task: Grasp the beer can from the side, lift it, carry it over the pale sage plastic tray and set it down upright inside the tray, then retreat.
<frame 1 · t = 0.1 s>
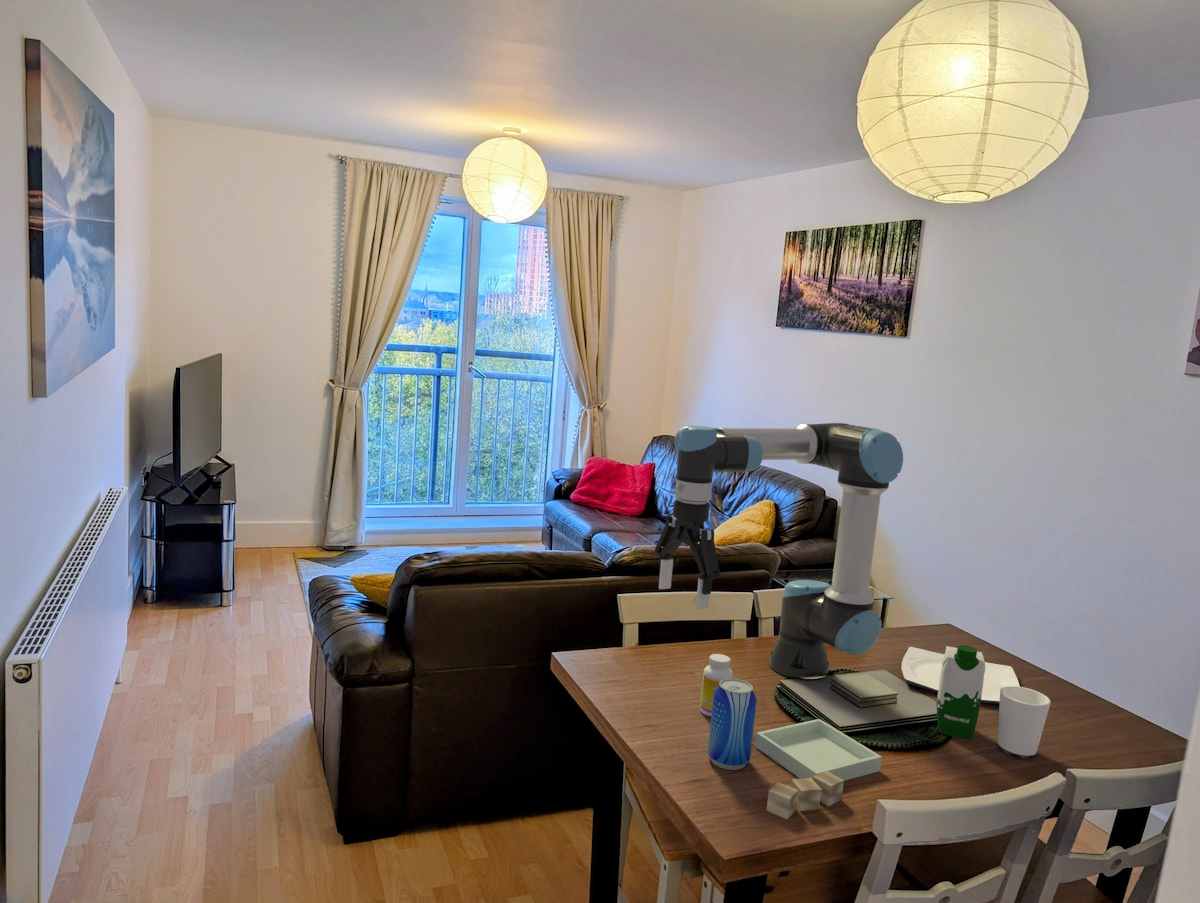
hand: (682, 598, 184), 28 cm above the table, fingers open, 13 cm apart
milk carton: (954, 731, 195), on the table
beech cube 2: (803, 804, 159), on the table
beer can: (728, 762, 173), on the table
beech cube 3: (781, 810, 157), on the table
tray: (816, 758, 177), on the table
plate: (958, 683, 224), on the table
supplement bottle: (714, 713, 195), on the table
beech cube 1: (825, 798, 162), on the table
cup: (1016, 751, 187), on the table
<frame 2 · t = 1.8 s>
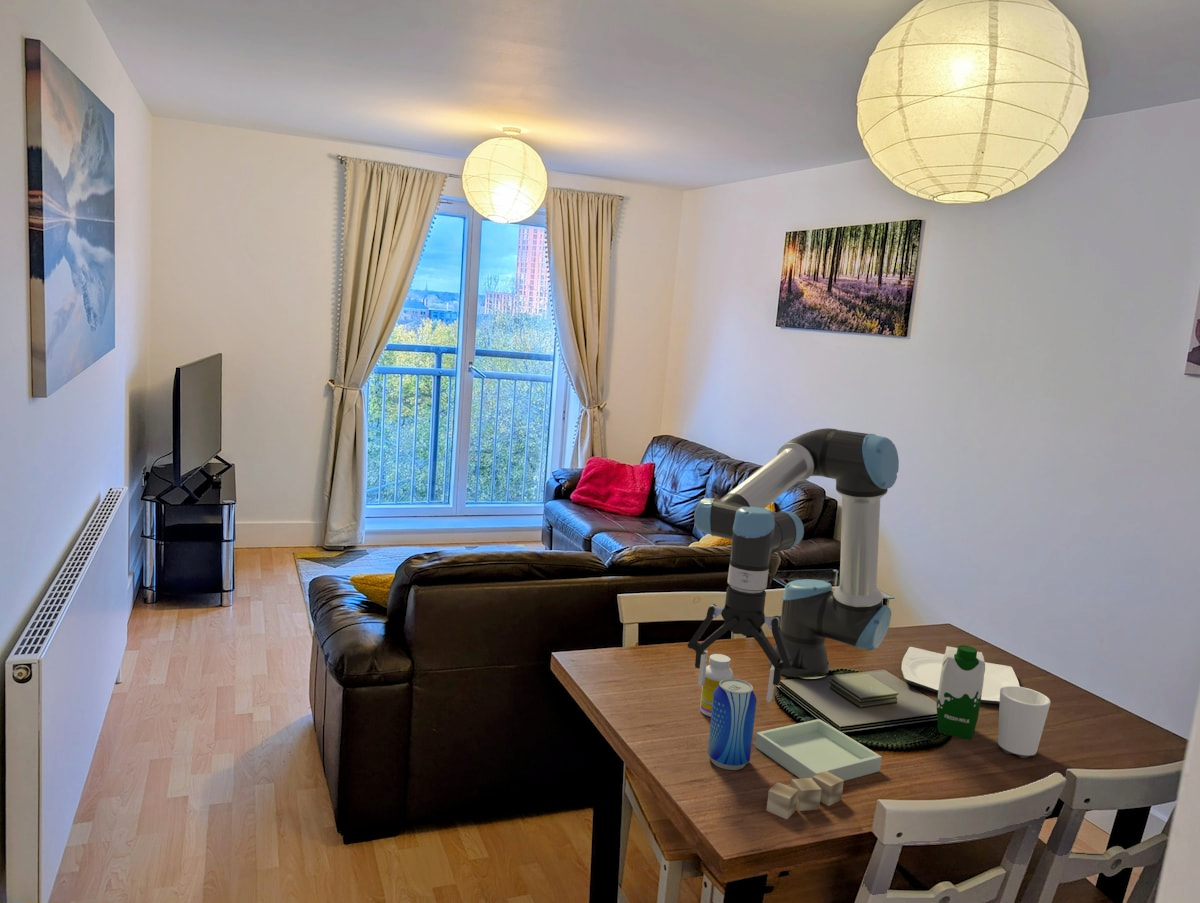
hand: (734, 691, 170), 15 cm above the table, fingers open, 13 cm apart
nothing on the table moved.
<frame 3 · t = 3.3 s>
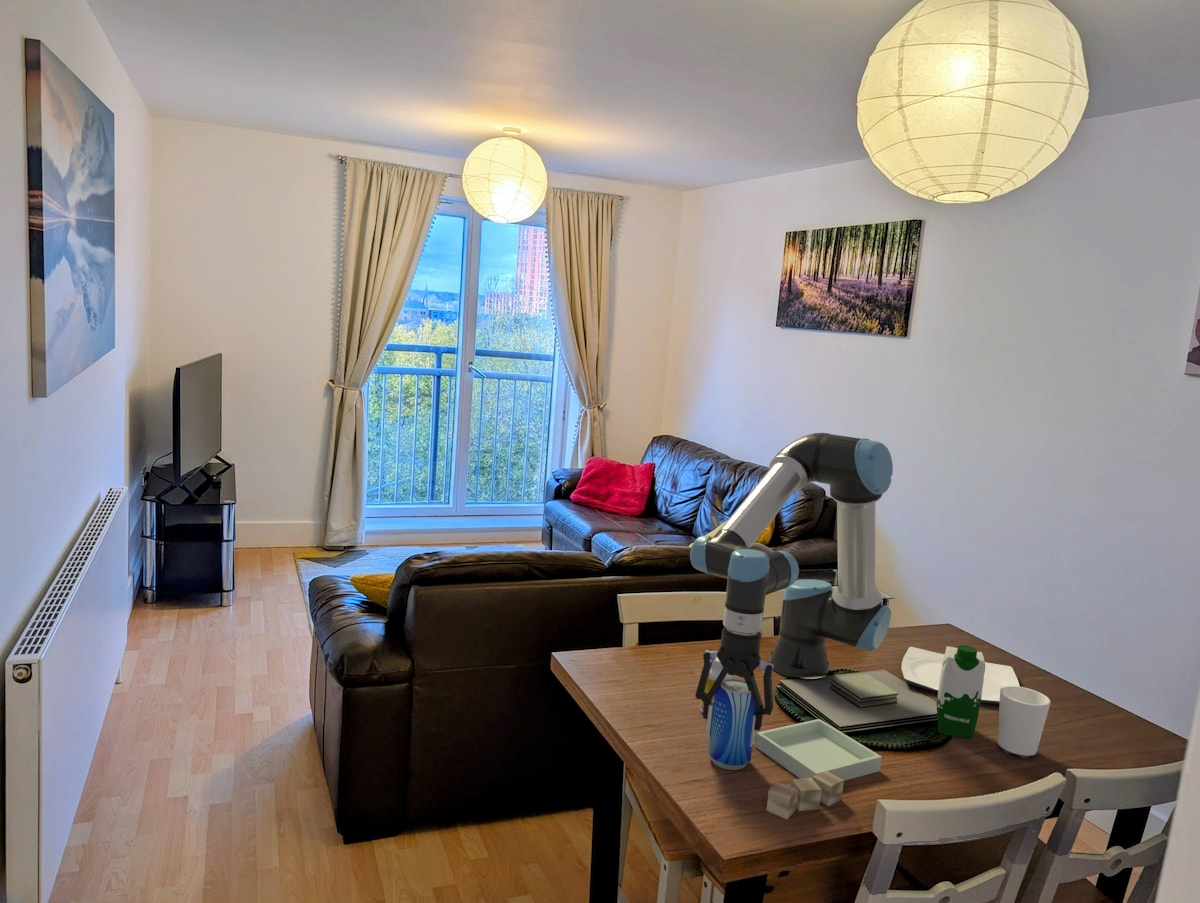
hand: (729, 738, 172), 5 cm above the table, fingers closed on beer can, 8 cm apart
beer can: (728, 762, 173), on the table, touching gripper
everything else where it was.
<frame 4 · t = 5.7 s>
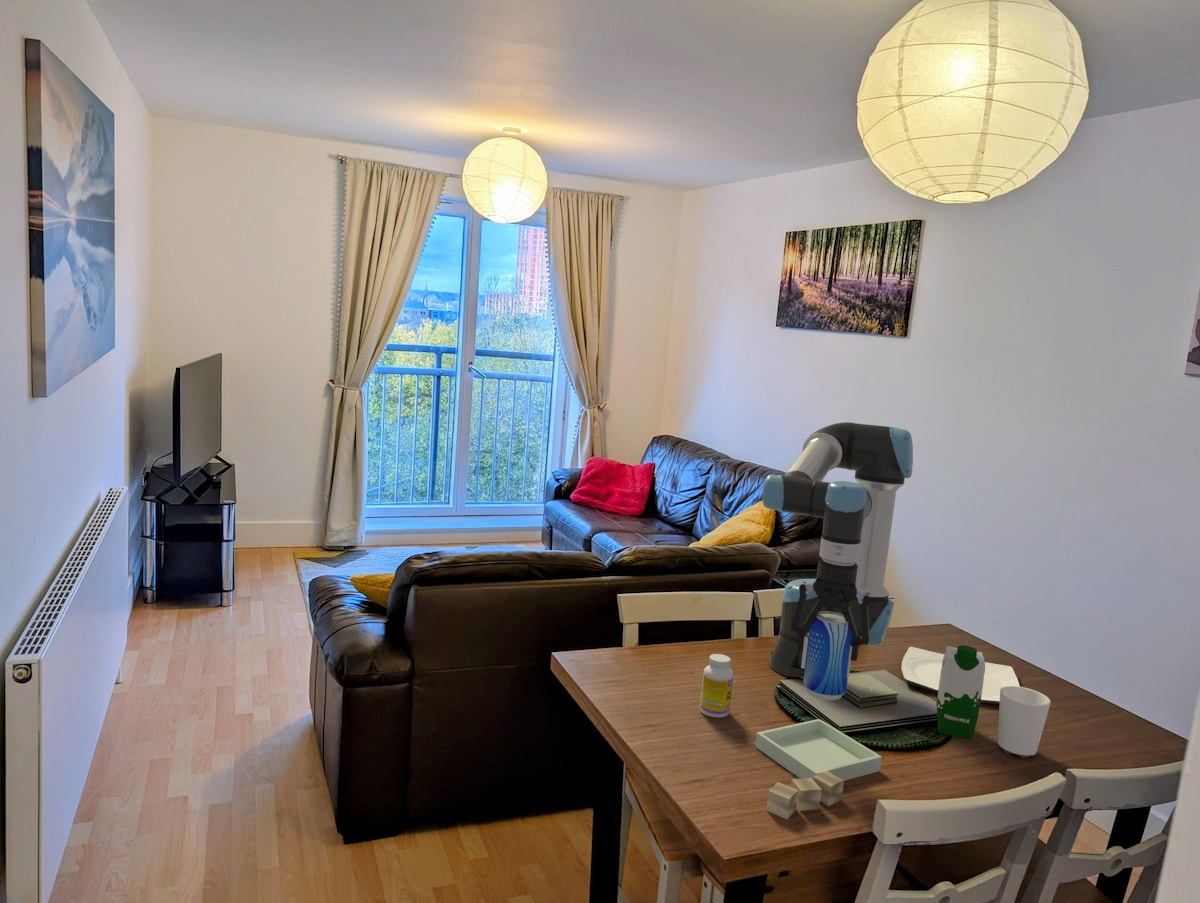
hand: (825, 670, 174), 19 cm above the table, fingers closed on beer can, 8 cm apart
beer can: (823, 693, 175), point 14 cm above the table, touching gripper
everything else where it was.
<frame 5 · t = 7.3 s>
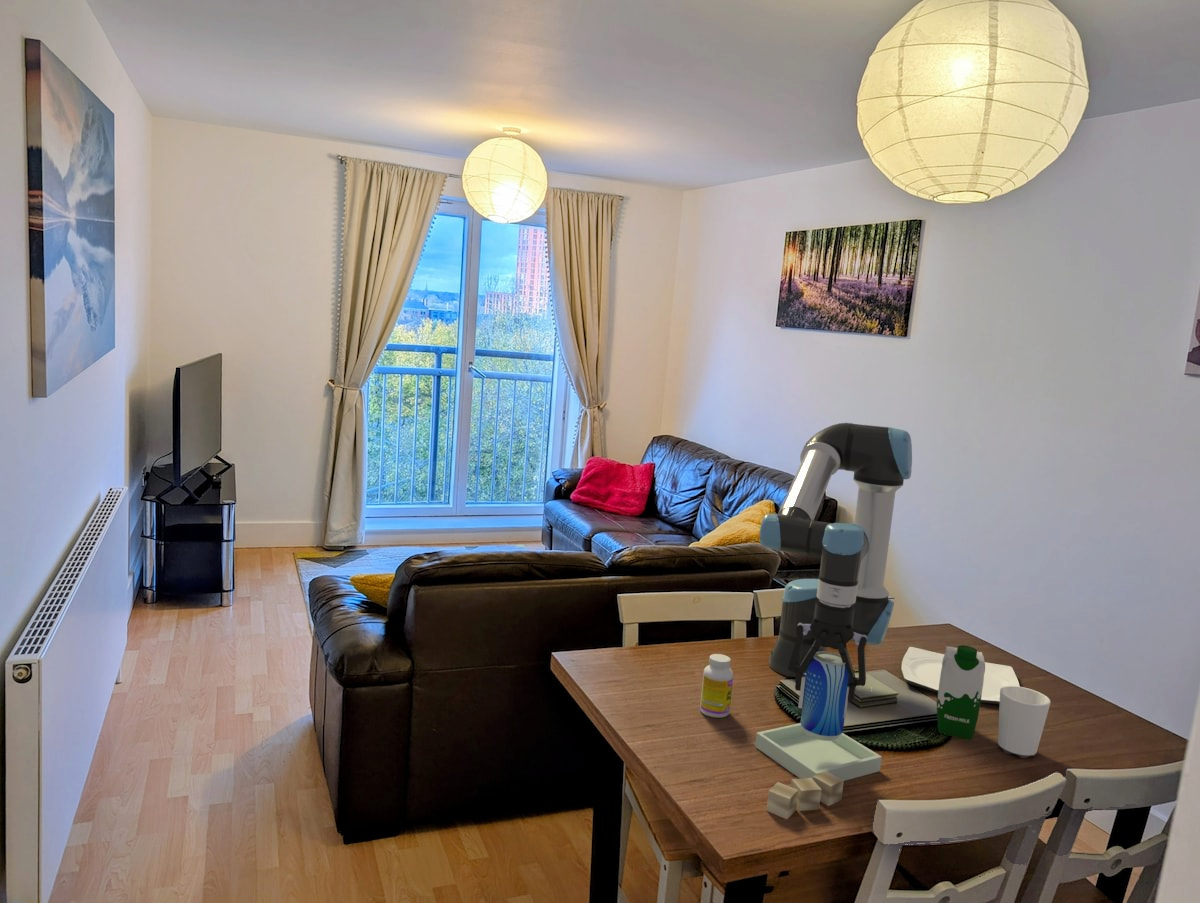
hand: (822, 710, 175), 11 cm above the table, fingers closed on beer can, 8 cm apart
beer can: (820, 733, 176), point 6 cm above the table, touching gripper
everything else where it was.
when the fingers open (7 cm above the table, at t = 8.5 s): beer can drops 1 cm, resting on tray.
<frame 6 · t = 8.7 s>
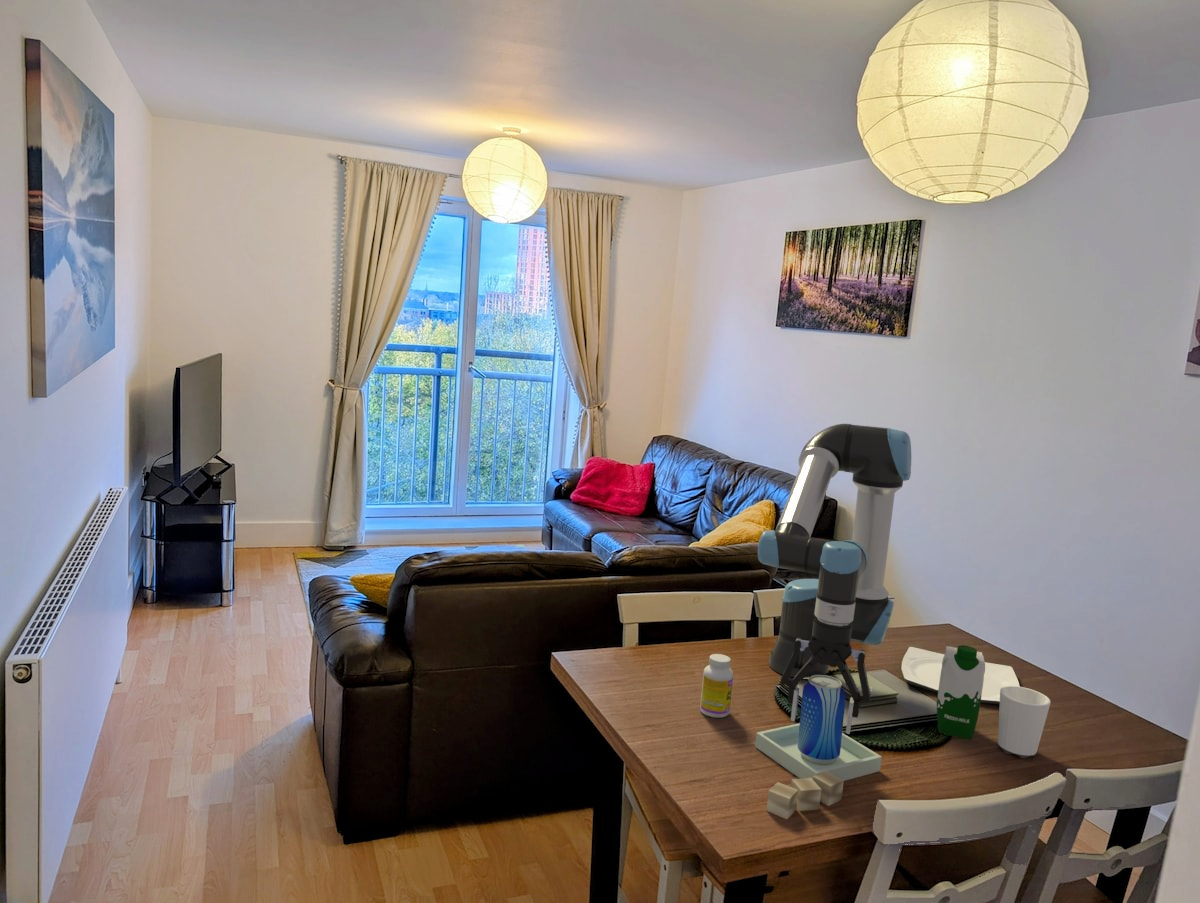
hand: (820, 724, 176), 7 cm above the table, fingers open, 10 cm apart
beer can: (818, 756, 177), point 1 cm above the table, touching tray
everything else where it was.
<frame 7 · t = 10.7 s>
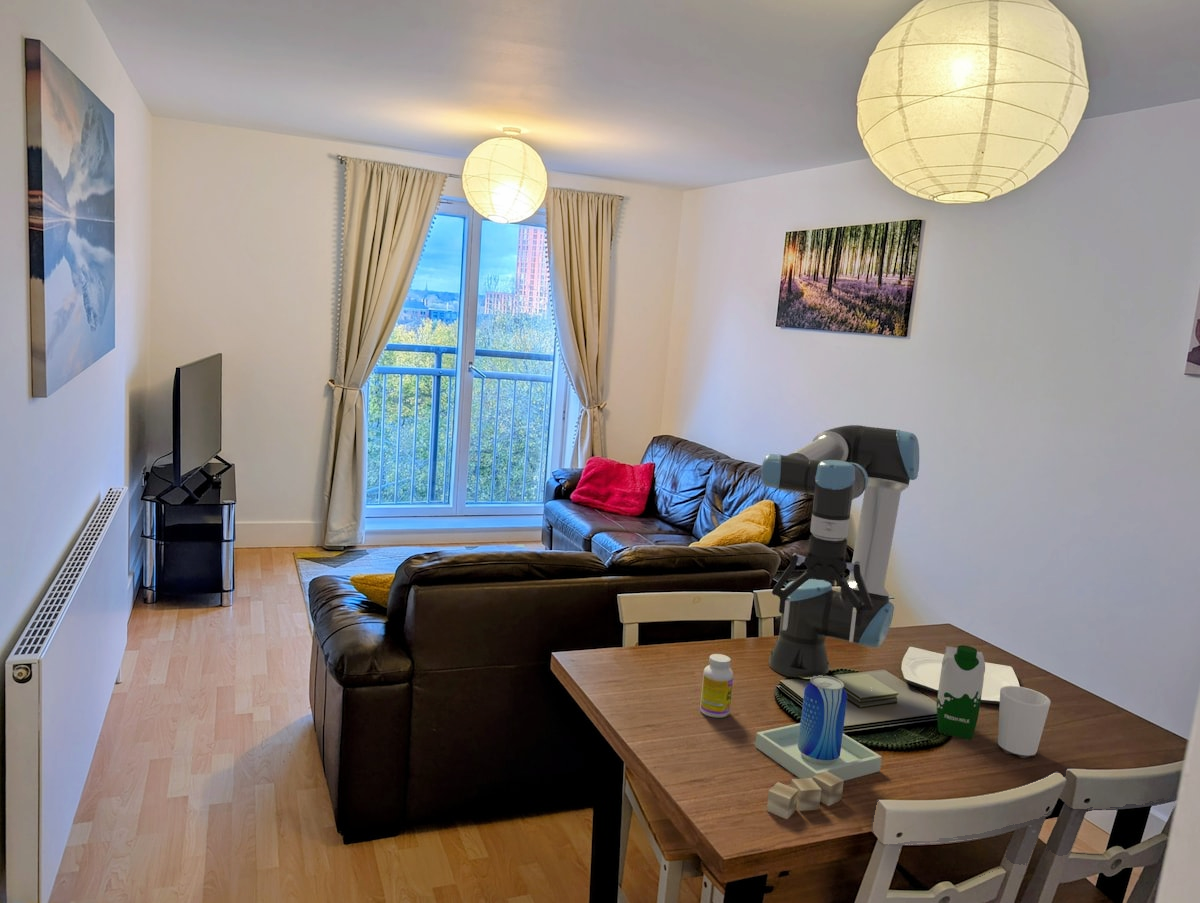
hand: (817, 633, 182), 23 cm above the table, fingers open, 13 cm apart
nothing on the table moved.
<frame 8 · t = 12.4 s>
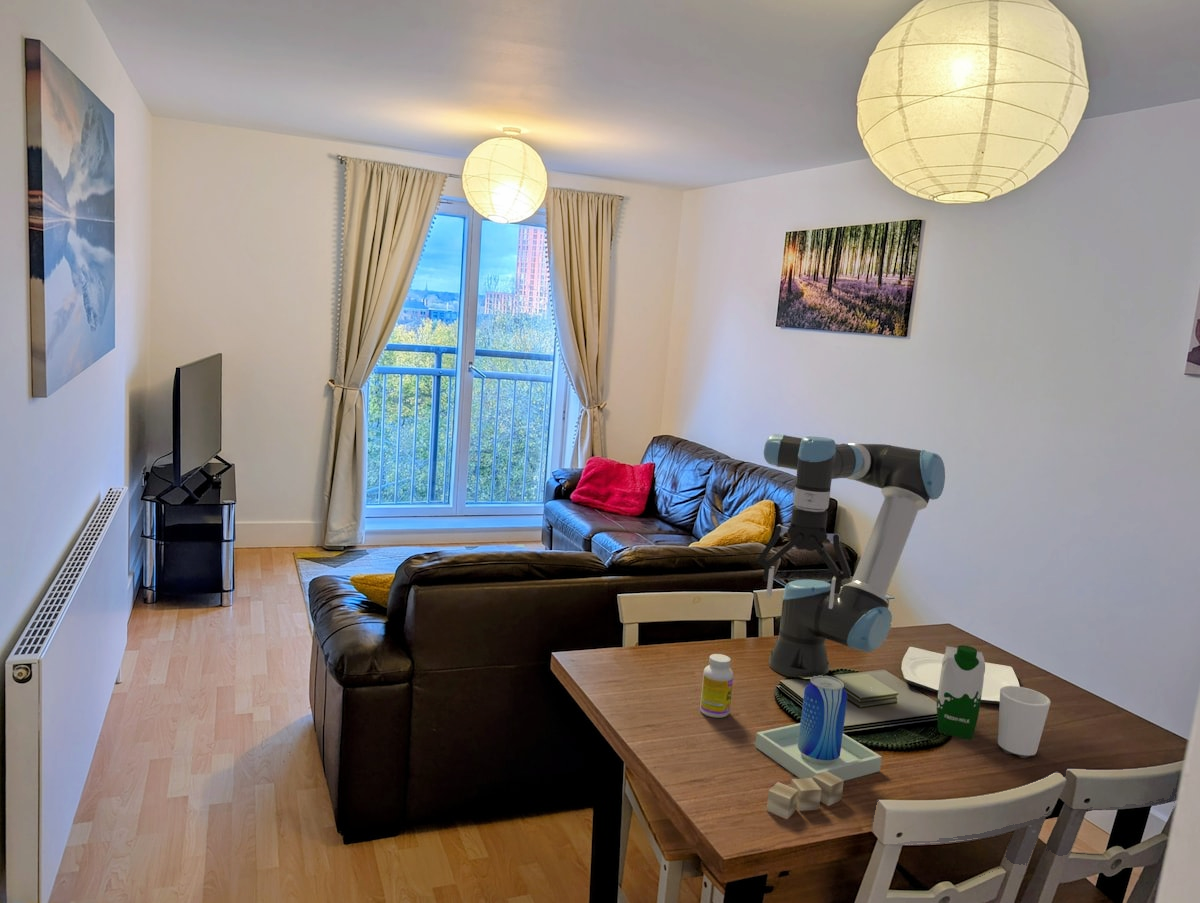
hand: (799, 601, 192), 27 cm above the table, fingers open, 13 cm apart
nothing on the table moved.
at the end: beer can inside the target area on the tray (0.3 cm from its centre), point 0.4 cm above the tray's base; beer can tilted 0°; the gripper is holding nothing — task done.
